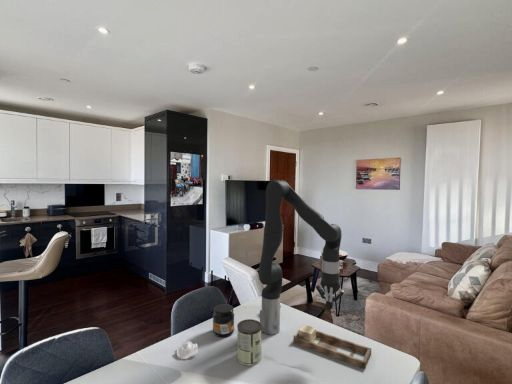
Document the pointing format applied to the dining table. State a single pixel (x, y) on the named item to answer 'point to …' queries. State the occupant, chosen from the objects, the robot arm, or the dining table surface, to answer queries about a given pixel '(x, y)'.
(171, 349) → the dining table surface
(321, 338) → the track
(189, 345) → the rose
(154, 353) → the dining table surface
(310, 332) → the oak block
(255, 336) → the coffee can
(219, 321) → the supplement container
